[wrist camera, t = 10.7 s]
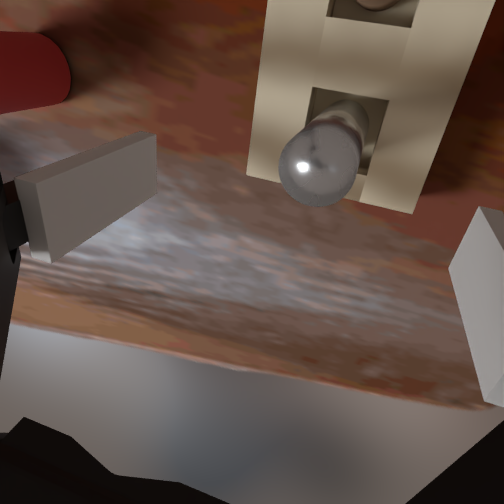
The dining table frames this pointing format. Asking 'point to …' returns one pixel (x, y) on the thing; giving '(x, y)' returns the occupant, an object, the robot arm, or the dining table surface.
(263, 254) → the dining table surface
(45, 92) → the beer can
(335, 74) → the socket block
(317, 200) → the steel pin
